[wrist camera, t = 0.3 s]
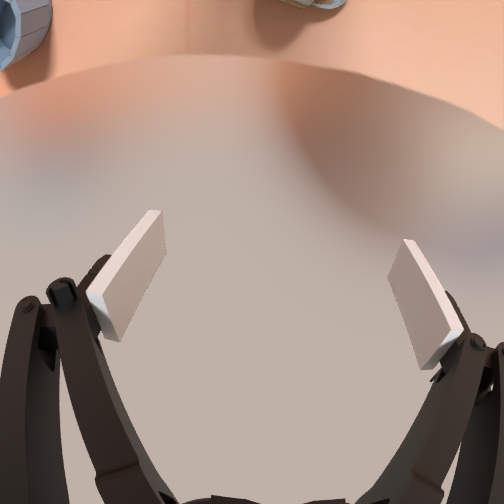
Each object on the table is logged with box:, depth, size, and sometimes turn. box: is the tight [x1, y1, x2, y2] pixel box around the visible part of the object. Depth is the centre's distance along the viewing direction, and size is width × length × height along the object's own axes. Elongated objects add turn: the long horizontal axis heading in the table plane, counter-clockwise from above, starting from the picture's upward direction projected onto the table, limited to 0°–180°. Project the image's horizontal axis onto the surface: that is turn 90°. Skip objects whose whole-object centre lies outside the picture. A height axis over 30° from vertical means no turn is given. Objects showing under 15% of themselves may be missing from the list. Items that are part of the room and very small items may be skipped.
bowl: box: [0, 0, 52, 72], centre depth 18 cm, size 14×14×7 cm
